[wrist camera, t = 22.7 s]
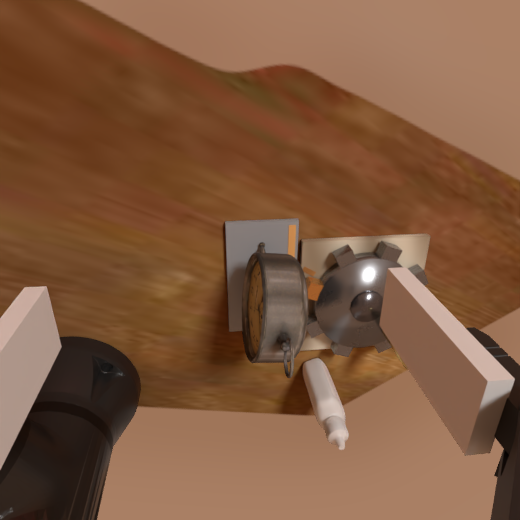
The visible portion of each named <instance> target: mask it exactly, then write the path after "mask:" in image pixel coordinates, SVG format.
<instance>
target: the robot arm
mask: <svg viewBox="0 0 520 520" xmlns="http://www.w3.org/2000/svg"><path fill="white" fill-rule="evenodd" d="M379 326H380V327H381V329H382V330H383V332H384V333H385V335H386V336H387V338H388V339H389V341H390V342H391V344H392V345H393V347H394V348H395V350H396V351H397V353H398V354H399V356H400V357H401V359H402V360H403V362H404V363H405V365H406V367H407V368H408V370H409V371H410V373H411V374H412V375H413V377H414V378H415V380H416V382H417V383H418V385H419V386H420V388H421V389H422V391H423V392H424V394H425V395H426V397H427V398H428V400H429V401H430V403H431V404H432V406H433V407H434V409H435V410H436V412H437V413H438V415H439V417H440V418H441V420H442V421H443V423H444V424H445V426H446V427H447V429H448V430H449V432H450V433H451V435H452V436H453V438H454V439H455V441H456V442H457V444H458V445H459V447H460V448H461V450H462V451H463V453H464V454H465V456H466V455H475V454H484V453H490V451H491V448H492V445H493V442H494V439H495V438H496V439H497V440H498V441H499V443H500V444H501V445H502V447H503V448H504V450H503V453H502V456H501V459H500V461H499V464H498V467H497V470H496V472H495V476H497V477H498V478H497V485H496V491H495V496H494V503H493V509H492V515H491V520H520V366H519V365H518V364H517V363H516V362H515V361H514V360H513V359H512V358H511V357H510V356H508V354H507V353H506V352H505V351H504V350H503V349H502V348H500V347H499V345H498V344H497V343H496V342H495V341H494V340H493V339H492V338H491V337H490V336H488V335H487V334H485V333H483V332H481V331H480V330H478V329H476V328H465V327H464V326H463V325H462V324H461V323H460V322H459V321H458V320H457V319H456V318H455V317H454V316H453V315H452V314H451V313H450V312H449V311H448V310H447V309H446V308H445V307H444V306H443V305H442V304H441V303H440V302H439V301H438V299H437V298H436V297H435V296H434V295H433V294H432V293H431V292H430V291H429V290H428V289H427V288H426V287H425V286H424V285H423V284H422V283H421V282H420V281H419V280H418V279H417V278H416V277H415V276H414V275H413V274H412V273H411V272H410V271H409V270H408V269H407V268H406V267H399V268H388V270H387V277H386V284H385V290H384V297H383V304H382V310H381V317H380V324H379ZM140 390H141V385H140V378H139V375H138V373H137V371H136V369H135V367H134V365H133V364H132V363H131V361H130V360H129V359H128V358H127V357H126V356H125V355H124V354H122V353H121V352H120V351H118V350H117V349H115V348H114V347H112V346H110V345H108V344H106V343H103V342H100V341H97V340H94V339H90V338H84V337H60V338H59V334H58V330H57V326H56V322H55V318H54V314H53V310H52V306H51V302H50V298H49V294H48V290H47V286H43V287H25V288H24V289H23V290H22V292H21V293H20V294H19V295H18V297H17V298H16V299H15V300H14V302H13V303H12V304H11V305H10V307H9V308H8V309H7V310H6V312H5V313H4V314H3V315H2V317H1V318H0V520H97V516H98V512H99V507H100V503H101V498H102V494H103V489H104V485H105V480H106V476H107V471H108V466H109V462H110V457H111V453H112V449H113V446H114V445H115V443H116V442H117V440H118V439H119V437H120V436H121V434H122V433H123V431H124V430H125V428H126V427H127V425H128V424H129V422H130V421H131V419H132V418H133V416H134V414H135V412H136V409H137V406H138V401H139V396H140Z"/></svg>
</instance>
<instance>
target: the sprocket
mask: <svg viewBox="0 0 520 520" xmlns="http://www.w3.org/2000/svg"><path fill="white" fill-rule="evenodd" d="M401 253H402V250H401V249H400V248H399V247H398V246H397V245H395V244H391V243H388V242H385V241H381V243H380V245H379V247H378V249H377V251H376V253H374V252H365V253H358V254H354V253H353V250H352V249H351V248H350V246H349V245H348V244H347V245H345V246H343V247H341V248H339V249H337V250H335V251H333V252H332V254H333V256H334V258H335V260H336V263H335V264H334V265H333V266H332V267H330V268H329V269H328V270H327V271H326V272H325V273H324V275H323V276H322V277H321V279H317V278H313V277H309V276H308V277H307V280H306V284H307V291H308V299H311V300H313V311H314V313H313V314H311V315H309V316H308V323H307V331H308V333H309V334H310V336H311V338H314V337H316V336H318V335H320V334H322V333H324V334H325V335H326V336H327V337H328V338H329V339H331V340H332V343H331V349H332V351H333V353H334V354H336V355H341V356H346V357H349V355H350V353H351V351H352V349H353V347H367V346H372V345H374V346H375V348H376V349H377V351H378V353H380V352H382V351H384V350H386V349H389V348H391V347H392V349H393V350H394V352H395V353H396V355H397V357H398V358H399V360H400V361H401V363H402V364H403V366H404V367H405V368H406V369H408V368H407V367H406V365H405V363H404V362H403V360H402V359H401V357H400V356H399V354H398V353H397V351H396V350H395V348H394V347H393V345H392V344H391V342H390V341H389V339H388V338H387V336H386V335H385V333H384V332H383V330H382V329H381V327H380V326H379V324H380V317H381V310H382V304H383V297H384V290H385V284H386V277H387V270H388V268H399V267H402V266H401V264H400V263H399V262H397V261H398V259H399V257H400V255H401ZM408 270H409V271H410V272H411V273H412V274H413V275H414V276H415V277H416V278H417V279H418V280H419V281H420V282H421V283H422V284H423V285H426V284H428V281H427V278H426V275H425V272H424V270H423V269H422V268H421V267H420V266H419V265H418V264H416V265H414V266H412V267H410V268H408Z"/></svg>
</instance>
